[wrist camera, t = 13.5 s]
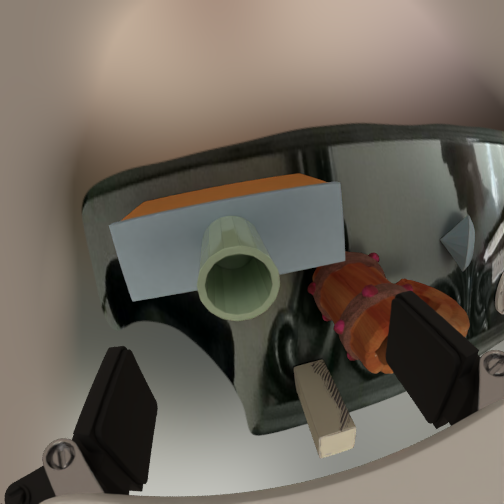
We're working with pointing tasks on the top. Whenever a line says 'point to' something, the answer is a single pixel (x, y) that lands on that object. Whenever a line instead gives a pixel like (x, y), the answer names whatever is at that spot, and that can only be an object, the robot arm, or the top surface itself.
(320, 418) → the box
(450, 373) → the robot arm
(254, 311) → the cup
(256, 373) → the top surface
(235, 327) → the top surface
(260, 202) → the container
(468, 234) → the gemstone
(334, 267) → the mug
